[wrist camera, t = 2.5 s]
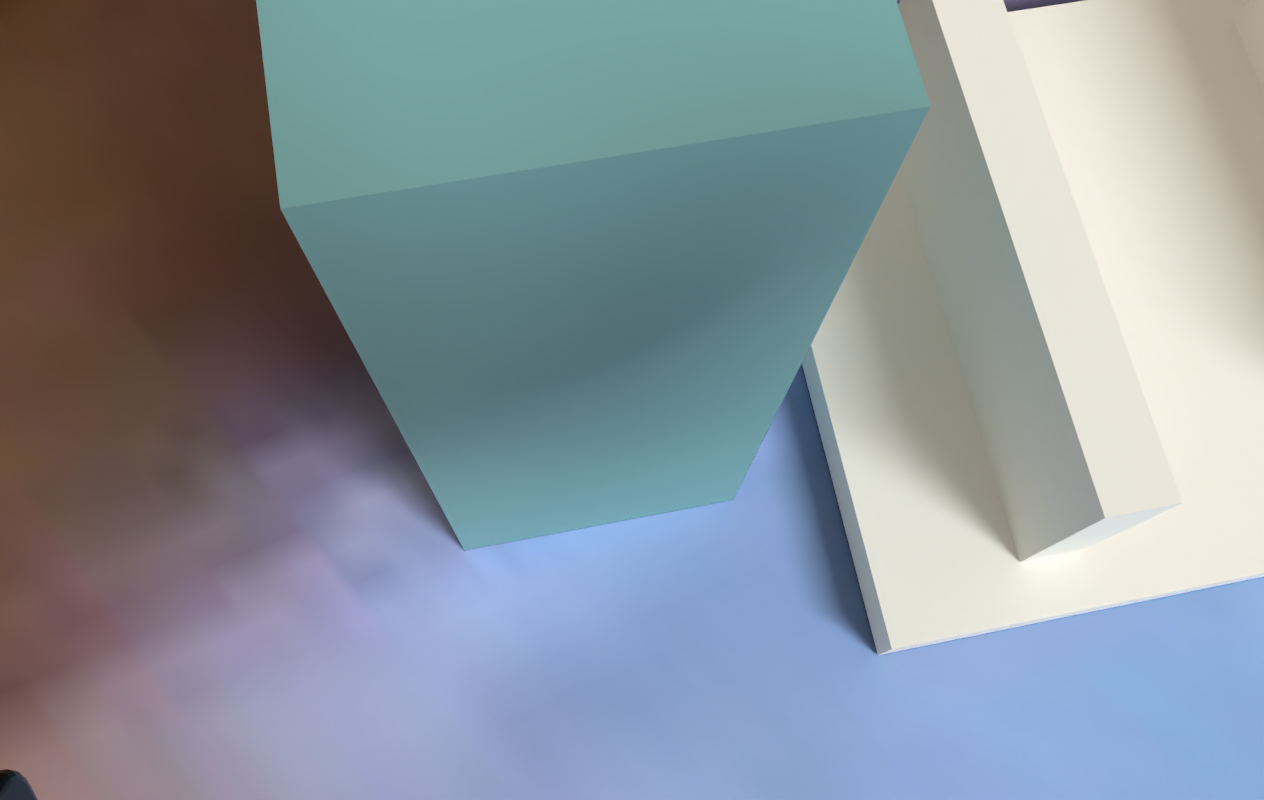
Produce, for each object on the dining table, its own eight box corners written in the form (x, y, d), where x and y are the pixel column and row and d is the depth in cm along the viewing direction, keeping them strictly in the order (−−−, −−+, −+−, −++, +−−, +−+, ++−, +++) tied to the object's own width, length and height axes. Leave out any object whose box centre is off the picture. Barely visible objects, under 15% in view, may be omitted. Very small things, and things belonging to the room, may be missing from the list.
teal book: (733, 500, 21) (930, 106, 9) (464, 551, 21) (280, 208, 8) (672, 235, 23) (766, -403, 11) (422, 277, 22) (216, -342, 10)
